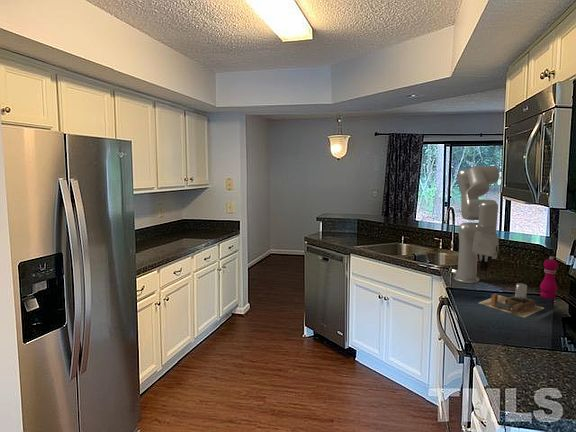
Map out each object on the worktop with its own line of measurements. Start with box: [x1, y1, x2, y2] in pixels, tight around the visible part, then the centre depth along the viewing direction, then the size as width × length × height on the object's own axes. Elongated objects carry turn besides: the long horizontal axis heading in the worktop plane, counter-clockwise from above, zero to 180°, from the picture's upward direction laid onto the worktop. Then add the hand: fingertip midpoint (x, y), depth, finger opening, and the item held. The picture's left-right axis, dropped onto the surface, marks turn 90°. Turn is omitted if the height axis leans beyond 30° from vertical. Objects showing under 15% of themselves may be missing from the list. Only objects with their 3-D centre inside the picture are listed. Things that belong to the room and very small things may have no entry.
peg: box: [514, 282, 528, 304], centre depth 195 cm, size 4×4×10 cm
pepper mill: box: [539, 256, 559, 300], centre depth 210 cm, size 7×7×20 cm
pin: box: [490, 293, 511, 310], centre depth 193 cm, size 8×2×5 cm, turn 36°
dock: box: [478, 294, 545, 318], centre depth 197 cm, size 21×18×4 cm
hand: (484, 269), depth 198 cm, fingers closed
